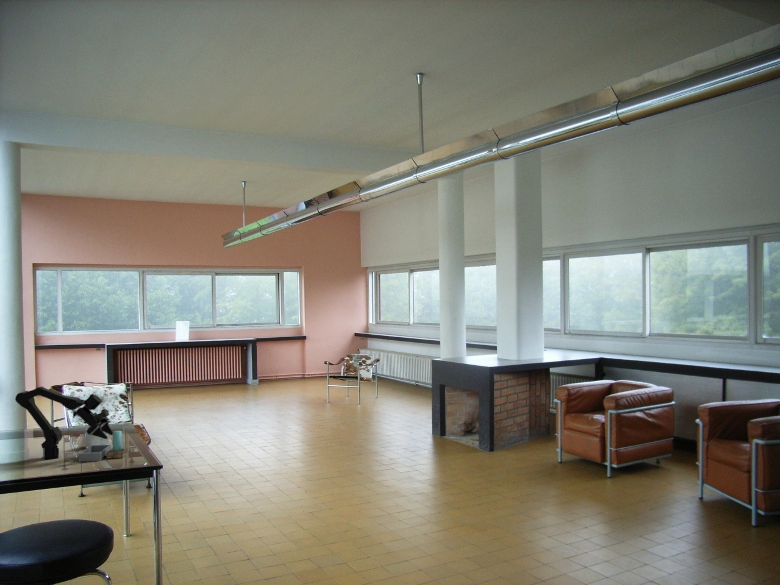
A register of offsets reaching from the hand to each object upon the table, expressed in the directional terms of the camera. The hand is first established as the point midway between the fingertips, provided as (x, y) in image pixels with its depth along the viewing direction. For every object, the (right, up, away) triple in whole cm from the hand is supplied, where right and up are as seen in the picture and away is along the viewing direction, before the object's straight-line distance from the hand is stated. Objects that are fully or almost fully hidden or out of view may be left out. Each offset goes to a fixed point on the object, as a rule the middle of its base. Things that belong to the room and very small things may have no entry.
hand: (109, 436), depth 330 cm
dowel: (+4, -11, 0) cm, 11 cm away
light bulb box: (-16, -11, +20) cm, 28 cm away
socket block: (+4, -11, 0) cm, 11 cm away
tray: (-7, -11, -1) cm, 13 cm away
